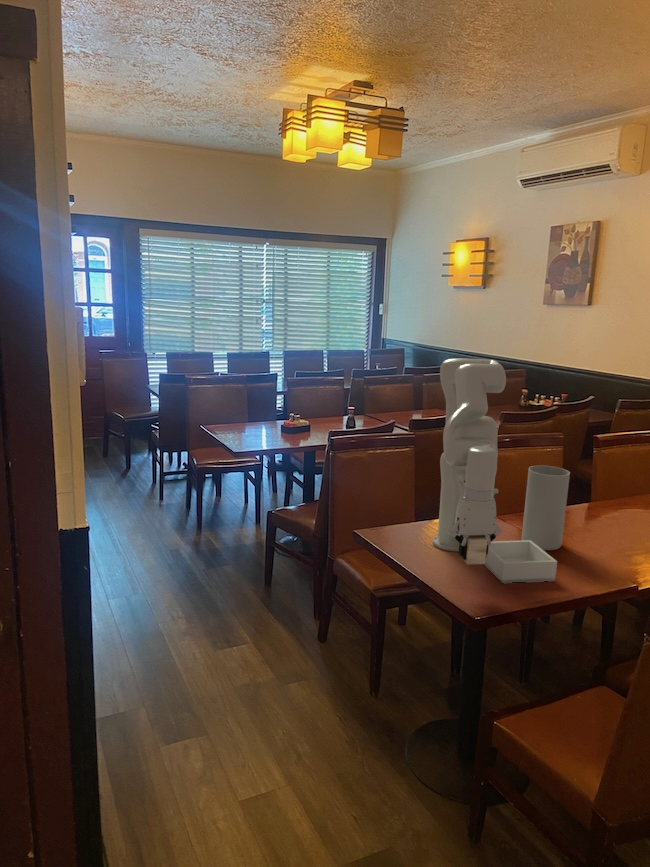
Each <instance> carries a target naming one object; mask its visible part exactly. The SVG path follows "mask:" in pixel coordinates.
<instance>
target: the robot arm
mask: <svg viewBox="0 0 650 867" xmlns="http://www.w3.org/2000/svg"><path fill="white" fill-rule="evenodd" d="M506 375H507V374H506V371H505V368H504V367H503V365H502V364H501V363H500V362H498V361H497V360H496V359H487V358H486V359H485V358H465V357H463V358H462V357H461V358H460V357H459V358H458V357H457V358H455V357H454V358H448V359H445V360H443V362H442V363H441V364H440V369H439V378H440V384H441V388H442V391H443V394H444V395H443V396H444V398H445V425H444V428H443V432H442V433H443V434H442V437H443V438H442V442H443V452H442V453H441V455H440V458H439V460H440V461H439V465H440V466H439V467H440V480H441V482H440V498H439V501H440V503H439V513H438V514H439V515H438V528H437V529H438V530H437V535H434V537H432V544H433V545H434V546H435V547H436V548H438V549H439V550H440V549H441V550H443V551H449V552H458V555H459V556H461V557H462V558H461V557H460V558H461V559H462V560H463V561H464V560H466V555H467V546H466V542H467V540H468V537H469V536H476V535H483V536H484V537H485V538H486V539H487V549H486V556H487V554H488V547H489V545H490V544H491V542H493V541H494V540H495V539H496V538H497V537H498V536H499V535H501V534H502V533H503V531H502V529H501V527H500V526H499V524H497V504H496V499H495V495H496V494H499V489H498V488H495V484H496V483H495V481H496V475H497V470H498V457H499V450H498V427H497V422H496V421H495V419H494V418H493V417H491V416H486V414H487V413H488V410H489V406H488V398H487V393H490V394H499V393H502V392H503V391H504V390H505V388H506V384H507V376H506Z"/></svg>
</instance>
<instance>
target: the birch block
mask: <svg viewBox="0 0 650 867" xmlns="http://www.w3.org/2000/svg"><path fill="white" fill-rule="evenodd" d="M466 546H467V555H466V560H463V562H464V563H465V564H466V565H484V564H485V559H486V549H487V539H486V538H485V537H484V536H483V535H476V536H469V537H468V540H467V542H466ZM459 556H460V555H459ZM460 558H461V559H462V557H461V556H460Z"/></svg>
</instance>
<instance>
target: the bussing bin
mask: <svg viewBox="0 0 650 867" xmlns="http://www.w3.org/2000/svg"><path fill="white" fill-rule="evenodd" d="M483 566H485V568H486V569H487V570H488V571H489V570H490V571H491V572H492V573H493V574H494V575H495V576H496V577H497V578H498V579H499V580H500V581H501V582H502V583H504V584H511V583H510V582H526V583H541V582H543V583H545V582H544V581H548V582H556V576H557V575H556V574H557V568H558V567H557V566H558V560H557V559H555V558H554V557H553V556H551V555H550V554H548V552H546V550H542V549H541V548H540V547H538V546H537V545H536V544H535V543H533V542H532V541H531V540H522V539H521V540H500V541H499V540H498V541H497V540H495V541H494V540H493V541H492V542H491V544H490V545H489V547H488V554H487V556H486V559H485V564H483ZM491 572H490V573H491ZM492 573H491V574H492ZM493 574H492V575H493ZM494 575H493V576H494ZM495 576H494V577H495ZM496 577H495V578H496ZM497 578H496V579H497ZM498 579H497V580H498ZM499 580H498V581H499ZM500 581H499V582H500ZM501 582H500V583H501ZM502 583H501V584H502Z"/></svg>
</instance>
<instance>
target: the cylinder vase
mask: <svg viewBox="0 0 650 867" xmlns="http://www.w3.org/2000/svg"><path fill="white" fill-rule="evenodd" d="M570 474H571V471H569V470H567V469H565V468H561V467H558V466H553V465H552V466H551V465H532V466H529V467H528V472H527V483H526V489H525V490H526V493H525V503H524V512H523V521H522V533H521V541H522V540H531V541H532V542H533V543H535V544H536V545H537V546H538V547H540V548H541V549H542V550H543V551H555V550H559V549H560V548H561V547H562V544H563V537H564V536H563V535H564V528H565V519H566V509H567V501H568V495H569V494H568V492H569V483H570V476H571V475H570Z"/></svg>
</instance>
